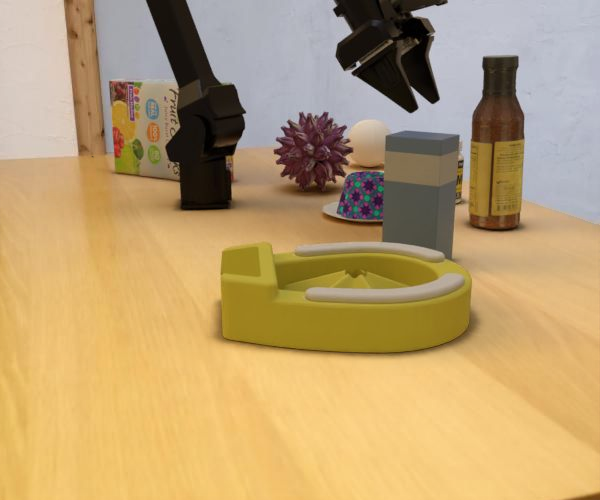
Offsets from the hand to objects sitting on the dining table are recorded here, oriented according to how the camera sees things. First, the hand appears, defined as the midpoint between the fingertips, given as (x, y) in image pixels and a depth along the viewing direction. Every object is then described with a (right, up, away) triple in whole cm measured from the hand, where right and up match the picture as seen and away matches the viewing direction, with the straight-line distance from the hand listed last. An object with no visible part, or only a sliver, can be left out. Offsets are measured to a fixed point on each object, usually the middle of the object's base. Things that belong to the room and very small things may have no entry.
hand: (426, 106), depth 90 cm
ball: (-2, +1, +46) cm, 46 cm away
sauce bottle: (+9, -13, +7) cm, 17 cm away
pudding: (-6, -11, +12) cm, 17 cm away
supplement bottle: (+6, -8, +20) cm, 22 cm away
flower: (-12, -6, +27) cm, 31 cm away
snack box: (-35, -2, +37) cm, 51 cm away
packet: (-2, -18, -8) cm, 20 cm away
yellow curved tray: (-10, -24, -23) cm, 34 cm away
